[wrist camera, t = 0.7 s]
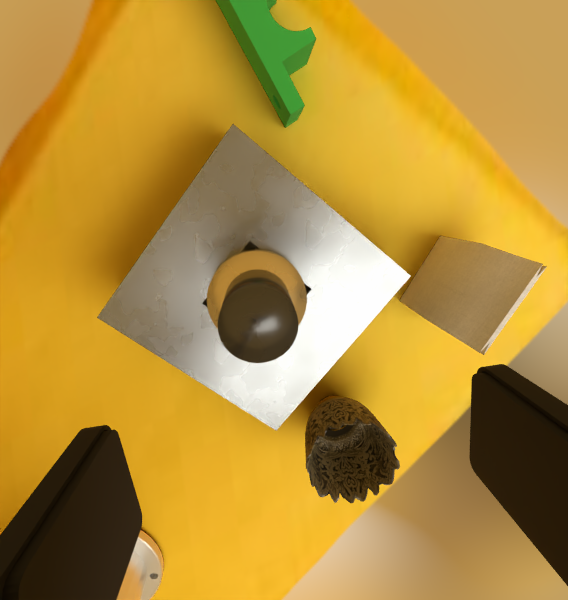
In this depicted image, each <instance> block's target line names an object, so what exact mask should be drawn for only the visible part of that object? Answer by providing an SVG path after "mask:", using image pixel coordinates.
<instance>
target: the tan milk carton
mask: <svg viewBox="0 0 568 600" xmlns="http://www.w3.org/2000/svg"><path fill="white" fill-rule="evenodd" d="M542 265H543V264H541V263H538V262H534V261H531V260H528V259H525V258H522V257H519V256H516V255H513V254H510V253H507V252H505V251H502V250H499V249H496V248H493V247H490V246H487V245H484V244H482V243H476V242H471V241H466V240H460V239H455V238H449V237H444V236H440V237H439V239H438V240H437V242H436V243H435V245H434V247H433V248H432V250H431V251H430V253H429V255H428V256H427V258H426V259H425V261H424V262H423V264H422V266H421V267H420V269H419V270H418V272H417V274H416V275H415V277H414V278H413V280H412V282H411V283H410V285H409V286H408V288H407V289H406V291H405V293H404V294H403V296H402V297H401V299H400V302H402V303H403V304H405V305H406V306H408V307H409V308H411V309H412V310H414V311H415V312H416V313H418V314H419V315H421V316H422V317H424V318H425V319H427V320H428V321H430V322H431V323H433V324H434V325H436V326H438V327H439V328H441V329H442V330H444V331H446V332H447V333H449V334H451V335H452V336H454V337H455V338H457V339H459V340H460V341H462V342H463V343H465V344H467V345H468V346H470V347H471V348H473V349H475V350H476V351H478V352H479V353H482V354H483V355H484V354H485V353H486V351H487V350H488V348H489V347H490V346H491V344H492V343H493V341H494V340H495V339H496V337H497V336H498V334H499V333H500V332H501V330H502V329H503V327H504V326H505V325H506V323H507V322H508V320H509V319H510V318H511V316H512V315H513V313H514V312H515V311H516V309H517V308H518V306H519V305H520V303H521V302H522V301H523V299H524V298H525V296H526V295H527V294H528V292H529V291H530V289H531V288H532V287H533V285H534V284H535V282H536V281H537V280H538V278H539V277H540V275H541V274H542V273H543V271H544V270H545V268H546V267H547V266H542Z"/></svg>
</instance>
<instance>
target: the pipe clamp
mask: <svg viewBox="0 0 568 600" xmlns="http://www.w3.org/2000/svg"><path fill="white" fill-rule="evenodd" d="M216 2H217V4H218V6H219V7H220V9H221V11H222V13H223V15H224V17H225V18H226V20H227V22H228V24H229V26H230V28H231V29H232V31H233V33H234V35H235V37H236V39H237V40H238V42H239V44H240V46H241V48H242V50H243V51H244V53H245V55H246V57H247V59H248V61H249V62H250V64H251V66H252V68H253V70H254V72H255V73H256V75H257V77H258V79H259V81H260V83H261V84H262V86H263V88H264V90H265V92H266V94H267V95H268V97H269V99H270V101H271V103H272V105H273V106H274V108H275V110H276V112H277V114H278V116H279V117H280V119H281V121H282V123H283V125H284V127H285V128H286V127H287V126H289V125H290V124H292V123H293V122H295V121H296V120H297V119H298V117H299V116H300V114H301V112H302V110H303V108H304V106H305V105H304V103H303V101H302V99H301V97H300V96H299V94H298V92H297V90H296V88H295V86H294V84H293V82H292V80H291V78H290V76H289V75H291V74H292V73H294V72H295V71H297V70H298V69H300V68H301V67H303V66H305V65H306V64H307V62H308V59H309V56H310V54H311V51H312V49H313V46H314V43H315V41H316V37H315V35H314V33H313V31H312V29H311V27H310V28H308V29H306V30H303V31H290V30H287V29H285V28H283V27H281V26H280V25H279V24H278V23H277V22H276V21H275V20H274V19H273V17H272V16H271V14H270V12H269V10H270V9H271V7H272V6H273V5H275V4H276V0H216Z"/></svg>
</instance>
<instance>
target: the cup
mask: <svg viewBox="0 0 568 600" xmlns="http://www.w3.org/2000/svg"><path fill="white" fill-rule="evenodd" d="M394 446H395V447H396V446H397V445H396V443H395V441H394V440H393V439H392V437H391V436H390V435H389V434H388V432H387V431H386V430H385V429H384V427H383V426H382V425H381V424H380V422H379V421H378V420H377V419H376V417H375V416H374V415H373V414H372V413H371V412H370V411H369V410H368V409H367V408H366V407H365V406H364V405H362V404H361V403H359V402H357V401H355V400H353V399H350V398H344V397H340V396H328V397H326V398H324V399H323V400H321V401H320V403H319V404H318V406H317V407H316V408H315V409H314V411H313V412H312V413H311V415H310V417H309V419H308V422H307V426H306V433H305V448H306V469H307V471H308V473H309V476H310V481H311V485H312V487H314V486H315V488H316V490H317V493H318V495H319V496H320V497H324V496H327V495H328V494H330V495H331V498H332V499H333V501H334V502H335V503H336V502H337V501H338V499H339V494H340V493H341V495H342V497H343V498H345V499H346V500H347V501H348V502H350V503H353V502H354V499H356V498H357V499H358V500H360V501H365V499H366V496H367V492H368V490H367V489H368V488H369V489H370V490H371V491H372V492H373V494H374V495H378V493H379V485H381V484H384V485H390V484H392V483H393V480H394V470H395V469H399V467H400V464H399V461H398V459H397V458H396V456H395V452H394V451H395V447H394ZM355 497H356V498H355Z"/></svg>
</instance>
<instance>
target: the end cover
mask: <svg viewBox="0 0 568 600" xmlns="http://www.w3.org/2000/svg"><path fill="white" fill-rule="evenodd" d="M306 306H307V293H306V288H305V285H304V282H303V280H302V277H301V276H300V274H299V272H298V271H297V269H296V268H295V267H294V266H293V264H292V263H291V262H290V261H288V260H287V259H286V258H284V257H283V256H281V255H279V254H277V253H275V252H272V251H269V250H264V249H250V250H244V251H241V252H238V253H236V254H234V255H232V256H231V257H229V258H228V259H226V260H225V261H224V262H223V263H222V264H221V265H220V266H219V268H218V269H217V270H216V272H215V274H214V275H213V277H212V279H211V282H210V284H209V287H208V292H207V307H208V311H209V315H210V317H211V320H212V321H213V323H214V325H215V326H216V328H217V329H218V334H219V337H220V340H221V342H222V344H223V345H224V347H225V348H226V349H227V350H228V351H229V352H230V353H231V354H232V355H233V356H235V357H237V358H238V359H241V360H243V361H246V362H251V363H265V362H269V361H272V360H275V359H277V358H279V357H280V356H282V355H283V354H284V353H286V352H287V351H288V350H289V349H290V347H291V346H292V345H293V343H294V341H295V339H296V336H297V333H298V326H299V325H300V323H301V321H302V319H303V317H304V314H305V311H306Z"/></svg>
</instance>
